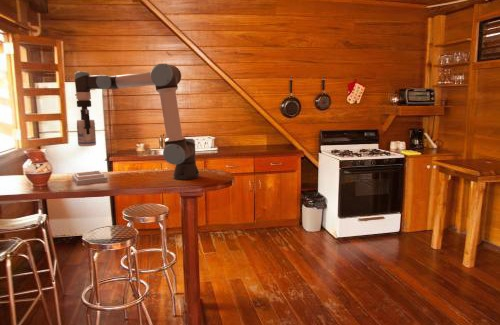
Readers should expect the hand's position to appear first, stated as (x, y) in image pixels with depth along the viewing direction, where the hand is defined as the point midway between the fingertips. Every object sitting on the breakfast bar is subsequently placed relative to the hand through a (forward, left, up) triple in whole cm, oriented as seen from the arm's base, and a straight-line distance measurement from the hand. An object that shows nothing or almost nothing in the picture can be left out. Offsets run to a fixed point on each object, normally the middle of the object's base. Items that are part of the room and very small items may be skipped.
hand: (86, 139), depth 224 cm
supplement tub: (0, 0, -4) cm, 4 cm away
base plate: (0, 0, -24) cm, 24 cm away
